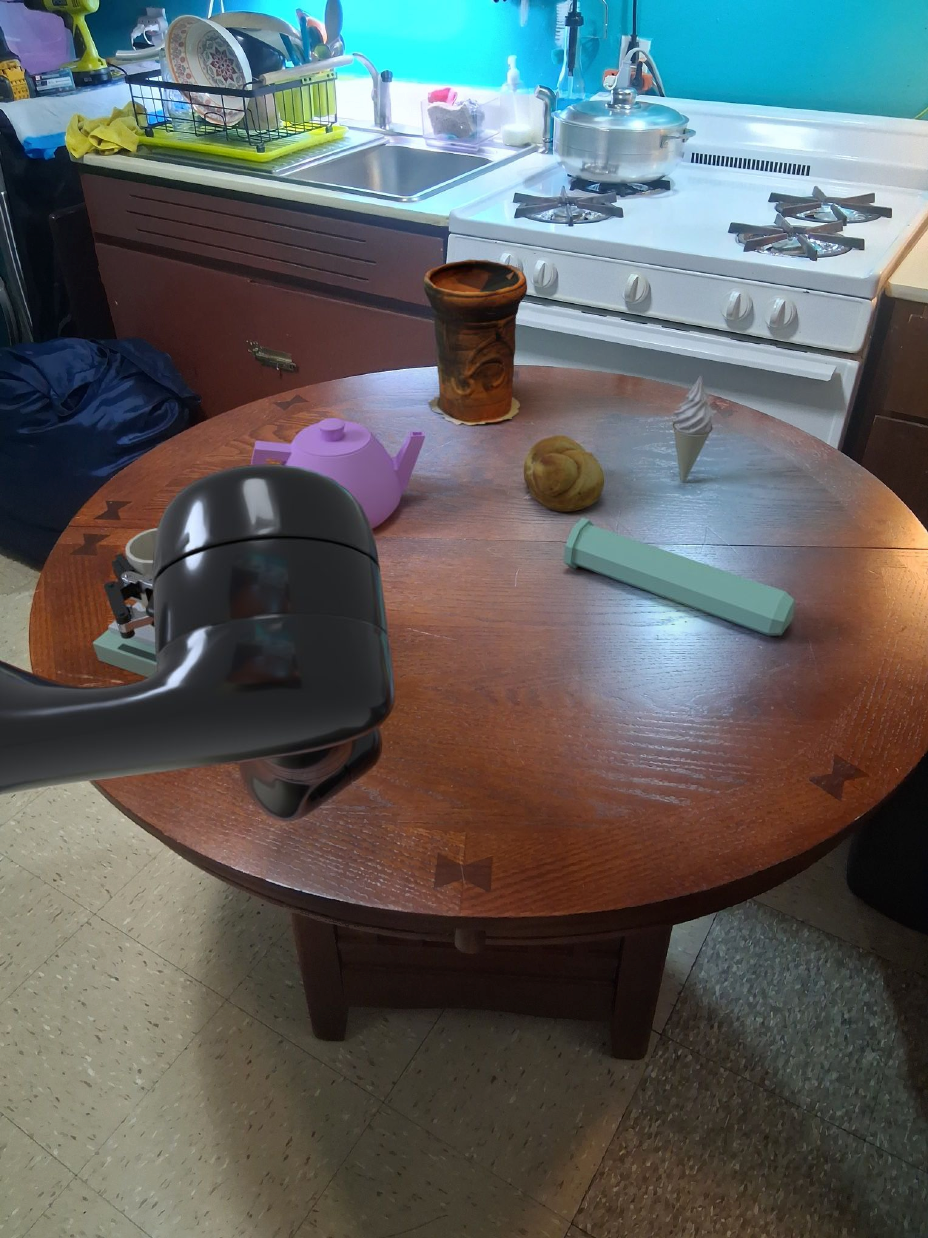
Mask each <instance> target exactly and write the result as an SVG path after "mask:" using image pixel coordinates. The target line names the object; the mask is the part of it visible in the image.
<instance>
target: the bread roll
mask: <svg viewBox="0 0 928 1238" xmlns="http://www.w3.org/2000/svg"><path fill="white" fill-rule="evenodd" d="M523 478H524V482H525V485H526V487H527V489H528V491H529V493H530V494H531V496H532V497H533V498H534V500H535V501H536V502H537V503H539V505H540V506H542V507H544V508H546V509H549V510H552V511H555V512H564V513H565V512H575V511H580V510H583V509H584V508H588V507H590V506H591V505H592V504H595V503H596V502H597V501H598V500H599V498H600V497H601V495H602V493H603V490H604V486H605V474H604V470H603V466H601V463H600V462H599V461H598V459H597V458H596V457H595V456H594V454H593V453H591V452H588V451H586V450H585V448H584V447H583V445H581V444H580V443H578V442H577V441H575V440H573V439H572V438H570V437H568V436H566V435H554V436H550V437H546V438H542V439H540V440H539V441H537V442H536V443H535V444H534V445H532V446H531V448H530V449H529V451H528V452H527V454H526V456H525V460H524V464H523Z"/></svg>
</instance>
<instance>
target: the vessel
mask: <svg viewBox="0 0 928 1238" xmlns="http://www.w3.org/2000/svg"><path fill="white" fill-rule="evenodd" d="M423 290H424V293H425V295H426V297H427V299H428V302H429V304H430V308H431V310H432V314H433V321H434V334H435V335H434V336H435V343H436V344H435V359H436V360H435V361H436V367H437V374H438V389H439V395H438V396H434V399H432V400H430V401H428V402H427V403H428V405H429V406H430V408H431V409H432V411H434V412H435V413H438V414H442V415H441V417H442V418H444V421H449V422H451V423H453V424H454V425H456V426H458V425H461V424H464V425H467V426H474V425H477V424H478V425H485V424H486V423H498V422H502V421H506V420H513V418H512V417H514V416H516V415H517V414H518V413H519V412H520V411H519V408H520V406H521V403H520V401H518V400H517V399H515V397H514V396H513V386H514V385H513V383H514V376H515V375H514V374H515V355H516V329H517V314H518V313H519V307H520V305H521V303H522V302H523V300H524V299H525V297H526V295H527V292H528V280H527V277H526V275H525V273H524V272H523V271H522V270H521V268H519V267H518V266H517V267H516V266H514V265H512V264H503V263H500V262H495V261H491V260H488V259H471V258H470V259H465V260H460V261H452V262H447V263H444V264H442V265H440V266H436V267H433V268H431V269H430V270H428V271H427V272H426V274H425V275H424V278H423Z"/></svg>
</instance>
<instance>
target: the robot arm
mask: <svg viewBox="0 0 928 1238" xmlns="http://www.w3.org/2000/svg"><path fill="white" fill-rule="evenodd" d="M114 558H115V560H112V561H111V567H112V570H113V573H114V577H115V578H116V579H117V581H114V580H112V581H111V580H110V581H107V582H106V583H104V585H103V588H104V591H105V593H106V594H105V595H106V597H107V599H108V602H109V606H110V609H111V612H112V614H113V618H114V621H115V620H116V623H117V626H118V629H119V631H120V634H121V637H122V638H123V639H129V638H132V637H133V636H134V635H135V631H134V629H136V628H140V627H143V626H146V625H150V624H151V625H152V626H153V627H155V654H156V660H157V670H156V672H155V673H154V674H153V675H152V676H150V677H145V678H144V679H141V680H138V681H135V682H130V683H124V684H118V685H108V686H80V685H74V684H70V683H65V682H62V681H58V680H55V679H51V678H49V677H46V676H42V675H39V674H37V673H34V672H32V671H28V670H25V669H22V668H21V667H18V666H16V665H14V664H11V663H9V662H6V661H4V660H1V659H0V796H2V795H7V794H14V793H18V792H24V791H29V790H36V789H41V788H48V787H55V786H61V785H68V784H75V783H83V782H92V781H98V780H107V779H115V778H124V777H132V776H140V775H149V774H156V773H166V772H172V771H182V770H190V769H198V768H206V767H207V768H209V767H216V766H223V765H225V766H226V765H232V764H238V770H239V775H240V778H241V781H242V784H243V786H244V788H245V791H246V792H247V794H248V796H249V797H250V799H251V800H252V802H253V804H255V806H256V807H258V809H259V810H261V811H262V812H263V813H264V814H265V815H267V816H268V817H270V818H272V819H274V820H277V821H280V822H294V821H298V820H300V819H303V818H305V817H307V816H308V815H310V814H312V813H313V812H314V811H316V810H317V809H319V808H320V807H321V806H323V805H324V804H326V803H327V802H329V801H330V800H331V799H332V798H334V797H335V796H337V795H338V794H339V793H341V792H343V791H344V790H345V789H346V788H348V787H349V786H351V785H352V783H355V782H357V781H358V780H359V779H361V778H362V777H364V776H365V775H366V774H367V773H369V772H370V771H371V770H372V769H373V768H374V767H375V766H376V765H377V764H378V763H379V761H380V759H381V756H382V753H383V734H382V731H381V728H380V727H381V725H383V724H385V722H386V720H387V719H388V718H389V717H390V715H391V714H392V712H393V709H394V707H395V702H396V683H395V682H396V681H395V673H394V672H395V671H394V663H393V654H392V648H391V641H390V640H391V639H390V633H389V623H388V617H387V609H386V601H385V595H384V594H385V593H384V587H383V579H382V574H381V565H380V559H379V552H378V547H377V542H376V538H375V534H374V530H373V529H372V528H371V525H370V522H369V520H368V518H367V516H366V514H365V512H364V510H363V508H362V506H361V504H360V503H359V502H358V501H357V500H356V498H355V497H354V496H353V495H352V494H351V493H350V492H349V491H348V490H347V489H346V488H345V487H343V486H342V485H340V484H339V483H337V482H336V481H335V480H333V479H331V478H329V477H327V476H324V475H322V474H320V473H318V472H315V471H312V470H308V469H304V468H300V467H296V466H286V465H281V464H272V463H271V464H266V465H251V464H250V465H240V466H235V467H230V468H226V469H222V470H219V471H215V472H212V473H210V474H208V475H205V476H203V477H201V478H199V479H196V480H194V481H193V482H191V483H190V484H188V485H187V486H185V487H184V488H182V489H181V490H180V491H179V492H178V493H176V495H175V496H174V497H173V499H171V500H170V502H169V503H168V504H167V506H166V507H165V509H164V512H163V513H162V515H161V518H160V520H159V522H158V525H157V534H156V540H155V547H154V553H153V575H151V574H146V575H145V576H143V575H140V574H137V573H135V570H134V568H133V567H132V566H131V564H130V563H129V562H128V559H127V556H126V555H125V554H124V553H123V552H120V553H117V554H114ZM128 600H131V601H133V602H136V603H137V602H139V603H141V604H143V605H144V607H145V608H146V611H138V610H137V609H136V608H133V607H132V606H133V605H132V604H131V603H126V601H128Z"/></svg>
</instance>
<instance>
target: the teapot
mask: <svg viewBox="0 0 928 1238" xmlns="http://www.w3.org/2000/svg"><path fill="white" fill-rule="evenodd" d="M425 439H426V434H425V431H424V430H412V431H411V430H410V431H409V434H408V436H407V437H406V439H405V441H404V442H403V444H402V445H401V447H400V449H399V451H398V452H397V454H396V456H394V457H392V456H391V455H390V454H389V452H388V450H387V449H386V448H385V446H384V445H383V444H382V443H381V442H380V440H379V439H378V438H377V437H376V435H374V433H373V432H371V430H369V429H368V428H367V427H366V426H364V425H362V424H360V423H358V422H354V421H349V420H344V419H342V418H338V417H330V418H329V417H328V418H324V419H322V420H320V421H319V422H317V423H313V424H310V425H308V426H306V427H305V428H303V429H302V430H300V431H299V432H298V433H297V434H296V435H295V437H294V438H293V439H292V441H291V443H285V442H284V443H283V442H276V441H275V442H274V441H264V440H255V442H254V448H253V451H252V457H251V462H250V465H267V459H269V460H275V461H280V462H281V463H280V465H286V466H296V467H300V468H304V469H308V470H312V471H315V472H318V473H320V474H322V475H324V476H327V477H329V478H331V479H333V480H335V481H336V482H337V483H339V484H340V485H342V486H343V487H345V488H346V489H347V490H348V491H349V492H350V493H351V494H352V495H353V496H354V497H355V498H356V500H357V501H358V502H359V503H360V504H361V506H362V508H363V510H364V512H365V514H366V516H367V518H368V520H369V522H370V525H371V528H372V530H374V529H375V528H377V527H379V526H380V525H381V524H383V523H384V522H385V520H387V519H388V518H389V517H390V516H391V515H392V514H393V513H394V511H395V510H396V509H397V507H398V506H399V504H400V501H401V499H402V493H404V492H406V490H407V487H408V485H409V482H410V479H411V476H412V474H413V471H414V469H415V465H416V463H417V461H418V458H419V455H420V452H421V450H422V447H423V445H424V441H425Z"/></svg>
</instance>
